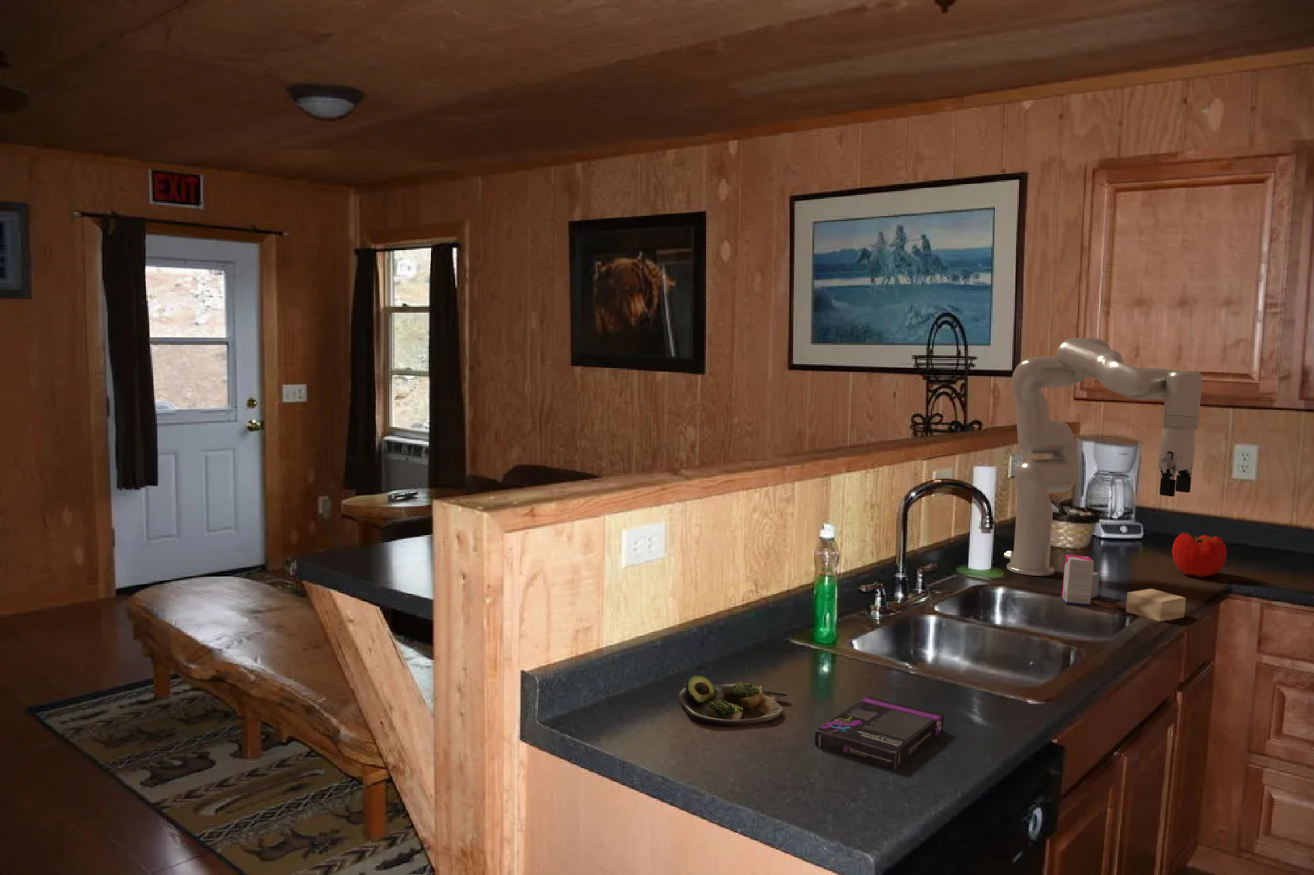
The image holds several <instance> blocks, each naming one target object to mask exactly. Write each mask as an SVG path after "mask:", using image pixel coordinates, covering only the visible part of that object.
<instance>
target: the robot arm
mask: <svg viewBox="0 0 1314 875" xmlns="http://www.w3.org/2000/svg"><path fill="white" fill-rule="evenodd" d="M1123 361H1124V360H1123V357H1122V354H1121V353H1120V352H1119V351H1117V350H1115V349H1112V348H1111V347H1110V345H1109V344H1108V343H1107V342H1106V341H1104V340H1103V339H1101V338H1096V337H1095V338H1094V337H1071V338H1067V339H1066V340H1064V341H1063V342H1061V343H1060V344H1059V346H1058V347H1057V350H1056V356H1035V357H1034V356H1033V357H1029V358H1026V359H1024V360H1022V361H1020V363H1018V364H1017V366H1016V367H1015V369H1014V370H1013V373H1012V377H1011V378H1012V379H1011V389H1012V395H1013V400H1014V403H1015V415H1016V416H1015V417H1016V418H1015V419H1016V431H1017V442H1018V446H1019V449H1020V450H1021V451H1022V452H1023V453H1025V454H1029V455H1046V456H1045V457H1046V458H1036V459H1035V458H1034V459H1029V460H1025V461H1022V462H1021V463H1020V464H1019V465H1018V466H1017V468H1016V469H1015V472H1014V483H1015V484H1014V485H1015V490H1016V492H1015V493H1016V510H1015V511H1016V512H1015V515H1016V516H1015V530H1014V541H1013V542H1014V543H1013V550H1007V551H1006V552H1004V555H1003V557H1004V558H1006V559H1009V562H1008V563H1007V564H1006V569H1007V570H1008V571H1010V572H1012V573H1016V574H1021V575H1026V576H1034V577H1035V576H1036V577H1037V576H1038V577H1039V576H1040V577H1047V576H1052V575H1055V572H1056V570H1055V568H1054V567H1052V566H1050V557H1051V543H1052V542H1051V541H1052V530H1053V514H1054V513H1053V504H1052V501H1051V499H1050V496H1049V494H1050V493H1063V492H1064V493H1065V492H1067V491H1069V490H1072V488H1073V487H1074V486H1075V483H1076V481H1077V473H1078V472H1077V457H1076V447H1075V446H1076V444H1075V437H1074V434H1073V431H1072V429H1071V427H1070V426H1069V425H1068V424H1067V423H1066V422H1065V421H1062V420H1058V419H1050V414H1049V413H1050V412H1049V404H1048V401H1047V398H1046V397H1045V394H1044V393H1043V392H1042V388H1050V389H1052V388H1054V389H1055V388H1065V389H1066V388H1070V387H1073V386H1075V385H1077V384H1079V383H1080V382H1083V381H1084V380H1086V379H1087V378H1091V379H1094V380H1096V381H1099V383H1100V384H1101V385H1102V386H1103V387H1104V388H1105V389H1107V390H1109V391H1110V392H1113V393H1115V394H1119V395H1121V396H1123V397H1126V398H1128V399H1132V400H1164V403H1163V405H1164V407H1163V417H1162V419H1163V420H1162V428H1163V432H1162V436H1161V440H1160V446H1159V455H1158V460H1157V467H1158V469H1159V471H1160V476H1159V478H1160V484H1159V495H1160V496H1164V497H1175V494H1176V492H1177V493H1178V492H1179V493H1184V494H1185V493H1187V494H1188V493H1190V492H1191V488H1192V487H1191V485H1192V484H1191V483H1192V475H1193V472H1192V471H1193V470H1192V469H1193V466H1194V461H1195V450H1196V449H1195V448H1196V447H1195V446H1196V431H1198V430H1199V421H1200V410H1201V400H1202V397H1201V396H1202V386H1203V376H1202V374H1201V372H1199V371H1194V370H1173V369H1169V368H1160V367H1159V368H1157V367H1156V368H1155V367H1151V368H1149V367H1148V368H1147V367H1146V368H1145V367H1143V368H1142V367H1141V368H1140V367H1135V366H1132V365H1129V364H1126V363H1123ZM1175 478H1176V479H1175Z"/></svg>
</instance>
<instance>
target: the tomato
mask: <svg viewBox="0 0 1314 875" xmlns="http://www.w3.org/2000/svg"><path fill="white" fill-rule="evenodd" d="M1227 553H1228V552H1227V547H1226V543H1225V542H1224V540H1222V538H1221V537H1218V536H1209V535H1205V534H1203V535H1200V536H1198V537H1197V536H1192V535H1191V534H1190V533H1188V532H1183V533H1179V535H1178V536H1176V537H1175V539H1174V542H1173V544H1172V549H1171V554H1172V555H1171V556H1172V560H1173V561H1174V565H1175V566H1176V568H1178V570H1179V571H1180V572H1182V573H1184V575H1187V576H1195V577H1197V578H1201V577H1202V578H1205V577H1210V576H1214V575H1215V574H1217V573H1219V572H1221V569H1222V568H1223V567H1224V564H1225V562H1226V559H1227Z"/></svg>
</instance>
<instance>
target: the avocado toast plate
mask: <svg viewBox="0 0 1314 875" xmlns="http://www.w3.org/2000/svg"><path fill="white" fill-rule="evenodd" d="M684 685H685V687H684V688H683V689H681V690H680V692H679V693H678V700H679V702H680V705H681V707H682V709H683V711H684V712H685V714H686V716H688V717H689V718H690V719H691V720H693V721H695V722H697V723H698V724H702V725H705V726H711V727H712V726H713V727H736V726H746V725H754V724H759V723H765V722H768V721H771V720H774V719H775V718H777V717H779V716H780V715H782V713H783V712H784V710H783V707H782V706H781V705H780V704H779V703H778V702H777V701H776V700H777V699H779V698H784V697H787V696H788V692H784V691H778V690H771V689H763V685H760V686H756V685H754V683H750V684H749V683H747V682H746V683H743V682H739V681H737V682H736V683H730V684H714V683H713V682H712V680H710V679H708V678H707V677H705V676H703V675H697V674H696V675H694V676H693V675H692V676H691V677H690V678H689V679H688V680H687V682H686V683H684ZM754 711H759V712H760V713H762V714H763V715H761V716H760V717H756V718H745V719H742V715H743V714H744V713H747V712H754Z"/></svg>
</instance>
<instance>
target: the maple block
mask: <svg viewBox="0 0 1314 875" xmlns="http://www.w3.org/2000/svg"><path fill="white" fill-rule="evenodd" d="M1186 600H1187V598H1186V597H1183V596H1181V595H1176V594H1173V593H1169V592H1166V591H1165V592H1164V591H1163V590H1162V591H1161V590H1157V589H1154V588H1147V589H1141V590H1135V591H1128V592H1127V594H1126V607H1125V612H1126V613H1129V614H1134V615H1136V616H1140V617H1143V618H1146V619H1150V620H1152V619H1154V620H1153V621H1156V620H1157V621H1156V622H1159V621H1161V622H1166V621H1165V620H1167V621H1172V620H1176V619H1177V620H1178V619H1183V618H1185V612H1186V611H1185V610H1186V609H1185V608H1186Z"/></svg>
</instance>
